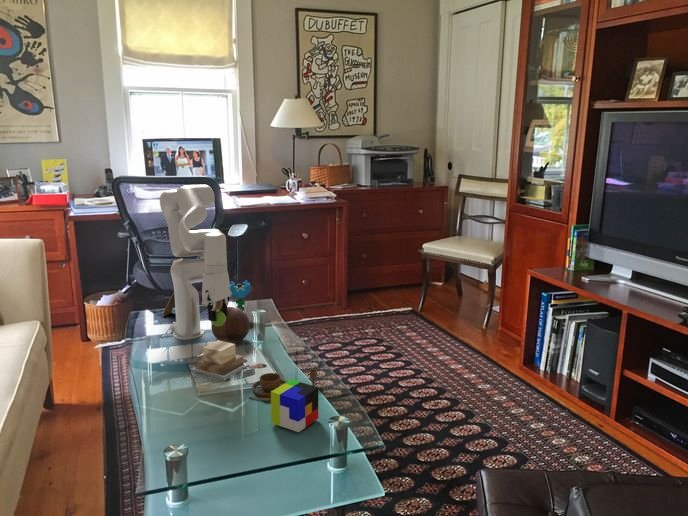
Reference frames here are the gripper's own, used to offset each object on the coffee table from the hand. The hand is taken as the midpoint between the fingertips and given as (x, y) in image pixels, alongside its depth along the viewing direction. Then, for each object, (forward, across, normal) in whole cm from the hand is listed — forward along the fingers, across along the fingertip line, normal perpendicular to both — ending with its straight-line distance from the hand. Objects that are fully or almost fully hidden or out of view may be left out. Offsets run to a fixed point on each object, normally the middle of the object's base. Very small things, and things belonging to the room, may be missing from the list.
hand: (218, 317), depth 205 cm
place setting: (+20, +4, +29) cm, 36 cm away
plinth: (+18, 0, 0) cm, 18 cm away
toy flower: (+19, -46, -26) cm, 56 cm away
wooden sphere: (+19, -22, -13) cm, 32 cm away
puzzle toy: (+20, +19, +44) cm, 52 cm away
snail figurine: (+3, 0, 0) cm, 3 cm away
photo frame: (+19, -38, -54) cm, 69 cm away
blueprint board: (+19, 0, 0) cm, 19 cm away
